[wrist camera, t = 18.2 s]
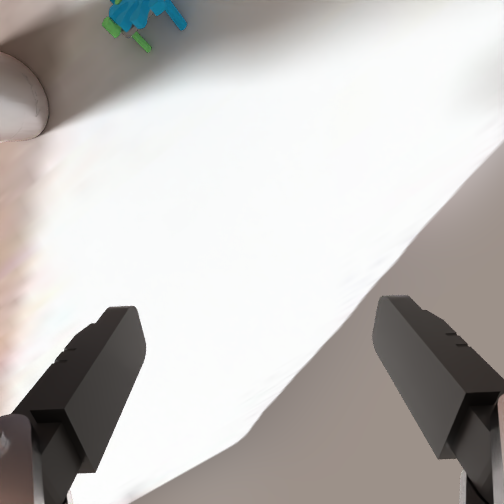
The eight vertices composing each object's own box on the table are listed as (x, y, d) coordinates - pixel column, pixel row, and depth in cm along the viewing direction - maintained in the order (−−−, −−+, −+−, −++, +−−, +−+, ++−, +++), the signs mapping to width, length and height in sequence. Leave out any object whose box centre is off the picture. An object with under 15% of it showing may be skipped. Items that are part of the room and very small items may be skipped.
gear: (166, -107, 24) (194, -54, 21) (206, -34, 30) (234, 18, 26) (89, -11, 28) (102, 47, 25) (137, 38, 33) (152, 93, 30)
